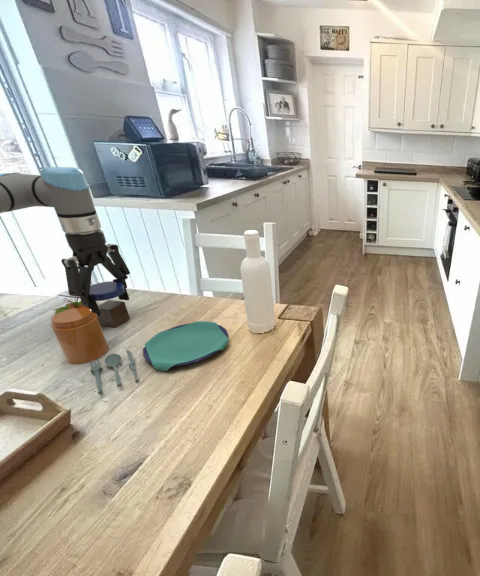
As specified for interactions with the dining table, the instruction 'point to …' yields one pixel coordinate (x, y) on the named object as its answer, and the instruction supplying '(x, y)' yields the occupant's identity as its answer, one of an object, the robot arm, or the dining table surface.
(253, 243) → the bottle
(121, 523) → the dining table surface
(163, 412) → the dining table surface
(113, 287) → the lid
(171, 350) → the cutlery set
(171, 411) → the dining table surface
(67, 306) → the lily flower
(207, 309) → the dining table surface
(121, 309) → the dark brown block
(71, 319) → the jar
